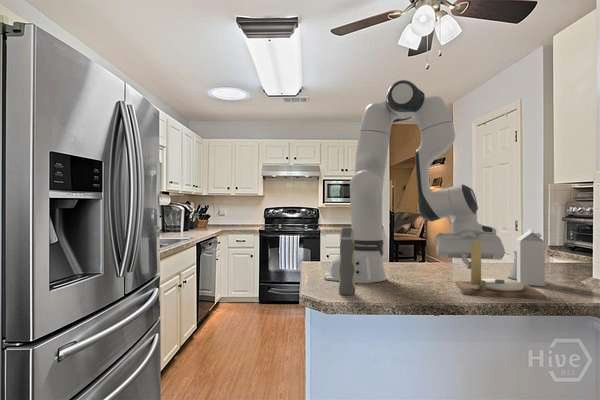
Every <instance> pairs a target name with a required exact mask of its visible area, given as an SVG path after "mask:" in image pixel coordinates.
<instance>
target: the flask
mask: <svg viewBox="0 0 600 400" xmlns="http://www.w3.org/2000/svg"><path fill="white" fill-rule="evenodd" d="M513 253H514V254H513V255H514V257H513V262H512V265H511V268H510V269H509V271H508V274H507V278H508V279H511V280H515V281H517V250H514V251H513Z"/></svg>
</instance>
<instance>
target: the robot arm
mask: <svg viewBox="0 0 600 400" xmlns="http://www.w3.org/2000/svg"><path fill="white" fill-rule="evenodd" d="M425 95H426V94H425V93H424V92H423V91H422V90H421V89H420V88H419V87H417V86H416V84H414V82H411V81H409V80H405V79H401V80H398V81H395V82H393V84H391V86H390V87H389V89H388V90H387V93H386V100H384V101H381V102H373V103H372V102H371V103H370V104H369V105H367V106H366V107H365V109H364V112H363V114H362V118H361V122H360V126H359V134H358V140H357V147H356V153H355V165H354V166H355V167H354V168H355V169H354V174H353V176H351V179H350V182H349V198H350V199H349V200H350V217H351V218H350V219H351V220H350V221H351V228H352V229H353V230H354V266H355V283H356V284H370V283H376V282H377V283H378V282H379V283H380V282H383V281H386V280H388V279H387V275H386V271H385V267H384V266H385V265H384V258H383V257H384V254H385V252H384V250H385V247H384V246H385V244H384V239H383V188H384V179H385V172H386V165H387V158H388V150H389V143H390V137H391V130H392V125H393V123H397V122H403V121H404V122H405V121H407V120H409V119H411V118H413V119H414V121H415V122H416V124H417V126H418V130H419V134H420V143H419V145H418V148H417V149H416V150H415V154H414V156H415V158H414V160H415V162H414V164H415V175H416V176H415V177H416V186H417V187H416V188H417V209H418V213H419V215H420V218H422V219H424V220H426V221H428V222H432V223H433V222H435V221H439V220H441V219H445V218H448V217H449V219H450V222H451V232H450V233H443V232H439V233H438V234H436V235H435V236H434V242H435V243H436V256H437V257H438V258H440V259H441V258H442V259H461V262H463V264H465V267H466V269H468V270H471V261H470V260H471V242H481V260H494V261H501V260H502V259H503V258H504V257H505V254H506V251H505V247H504V244H503V241H502V239H501V238H500V237H499V236H498V234H497V229H496V227H491V226H487V225H485V224H484V225H483V224H481V223H479V222H478V209H479V206H478V203H477V202H478V201H477V197H476V194H475V191H474V190H473V189H472V188H471V187H469V186H468V185H466V184H458V185H454V186H450V187H447V188H443V189H439V190H435V191H431V183H430V174H429V173H430V172H429V169H430V166H431V165H432V163H433V162H434V161H435V160H436V159H438V158H439V157H440V156H442V155H443V154H444V153H445V152H447V151H448V150H449V149H450V148H451V147H452V146H453V144H454V142H455V141H456V140H455V138H456V132H455V131H456V130H455V127H454V123H453V118H452V116H451V114H450V111H449V109H448V107H447V104H446V103H445V101H444V100H443V98H442V97H440V96H436V95H431V96H425ZM469 259H470V260H469ZM339 269H340V253H339V254H338V255H337V256H336V257H334V258H333V259H332V261H331V263H330V268H329V271H327V272H325V273H323V274H324V275H323V279H325V280H328V281H336V282H339V279H340V271H339Z"/></svg>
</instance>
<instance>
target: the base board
mask: <svg viewBox="0 0 600 400" xmlns="http://www.w3.org/2000/svg"><path fill="white" fill-rule="evenodd" d="M470 283H471V280H470V281H467V280H454V284H455V285H456V287H457V288H458V289H459V291H460V292H461V293H462V295H467V296H479V297H480V296H482V297H484V296H485V297H500V298H514V299H515V298H517V299H531V300H532V299H533V300H547V295H546V294H544V293H542V292H540V291H538V289H535V288H533V287H532V285H527V284H523V285H524V290H521V291H498V290H491V289H486V281H484V280H480V289H474V288H470Z"/></svg>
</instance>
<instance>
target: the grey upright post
mask: <svg viewBox="0 0 600 400" xmlns="http://www.w3.org/2000/svg"><path fill="white" fill-rule="evenodd" d="M339 254H340V269H339V271H340V279H339V281H338V282H339V284H338V285H339V287H338V293H339V294H340V295H342V296H353V295H355V294H356V284H355V266H354V230H353V229H352V228H351V227H350V226H342V228H341V229H340V233H339Z"/></svg>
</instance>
